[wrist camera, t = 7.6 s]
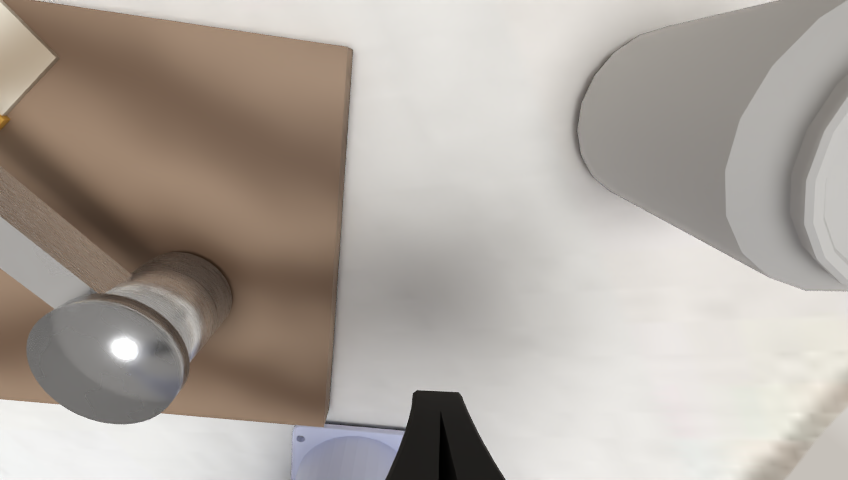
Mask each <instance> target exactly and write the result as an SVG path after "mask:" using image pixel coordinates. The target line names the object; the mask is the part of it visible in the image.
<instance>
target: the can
mask: <svg viewBox="0 0 848 480" xmlns="http://www.w3.org/2000/svg"><path fill="white" fill-rule="evenodd" d="M577 131H578V138H579V145H580V151H581V156H582V158H583V160H584V162H585V163H586V165H587V167H588V169H589V171H590V173H591V175H592V176H593V177H594V178H595V179H596V180H597V181H599V182H600V183H601V184H602V185H603V186H604V187H606V188H607V189H608V190H609V191H611V192H612V193H614V194H616V195H618V196H620V197H622V198H623V199H625V200H627V201H629V202H631V203H633V204H635V205H636V206H638V207H640V208H642V209H644V210H646V211H647V212H649V213H651V214H653V215H655V216H657V217H659V218H660V219H662V220H664V221H666V222H668V223H670V224H671V225H673V226H675V227H677V228H679V229H681V230H682V231H684V232H686V233H688V234H690V235H692V236H694V237H695V238H697V239H699V240H701V241H703V242H705V243H706V244H708V245H710V246H712V247H714V248H716V249H717V250H719V251H721V252H723V253H725V254H727V255H729V256H730V257H732V258H734V259H736V260H738V261H740V262H741V263H743V264H745V265H747V266H749V267H751V268H752V269H754V270H756V271H758V272H760V273H762V274H764V275H765V276H767V277H769V278H772V279H775V280H777V281H780V282H783V283H786V284H789V285H791V286H794V287H797V288H800V289H802V290H805V291H848V0H778V1H774V2H769V3H765V4H761V5H757V6H752V7H748V8H744V9H740V10H735V11H731V12H727V13H723V14H718V15H714V16H710V17H705V18H701V19H697V20H693V21H688V22H684V23H680V24H676V25H671V26H667V27H664V28H661V29H658V30H654V31H651V32H648V33H645V34H641V35H639V36H638V37H636V38H635V39H633V40H632V41H630V42H629V43H627V44H626V45H624V46H623V47H621V48H620V49H618V50H617V51H615V52H614V53H613V54H612V55H611V57H610V58H609V59H608V60H607V61H606V63H605V64H604V65H603V66H602V67H601V68H600V70H599V71H598V72H597V73H596V74H595V75H594V77H593V80H592V82H591V84H590V86H589V88H588V90H587V92H586V94H585V97H584V99H583V101H582V104H581V110H580V116H579V123H578V129H577Z"/></svg>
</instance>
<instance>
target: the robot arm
mask: <svg viewBox="0 0 848 480" xmlns="http://www.w3.org/2000/svg"><path fill="white" fill-rule="evenodd" d="M300 436H303V437H300ZM291 480H505V478H504V476H503V475H502V473H501V472H500V470H499V469H498V467H497V465H496V464H495V462H494V460H493V459H492V457H491V455H490V453H489V451H488V450H487V448H486V446H485V444H484V443H483V441H482V439H481V437H480V435H479V433H478V431H477V429H476V427H475V425H474V423H473V421H472V419H471V417H470V415H469V413H468V410H467V408H466V406H465V403H464V401H463V398H462V396H461V395H460V394H459V392H440V391H420V390H417V391H416V392H414V393H413V398H412V407H411V412H410V416H409V420H408V423H407V427H406V430H405V431H401V430H390V429H379V428H367V427H356V426H345V425H333V424H325V425H324V427H313V426H301V425H295V426H294V428H293V435H292V471H291Z"/></svg>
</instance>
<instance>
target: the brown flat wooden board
mask: <svg viewBox="0 0 848 480" xmlns="http://www.w3.org/2000/svg"><path fill="white" fill-rule="evenodd" d="M352 55H353V50H352V49H350V48H348V47H344V46H337V45H330V44H324V43H317V42H310V41H303V40H297V39H290V38H283V37H277V36H270V35H263V34H256V33H250V32H243V31H236V30H229V29H223V28H216V27H209V26H203V25H196V24H189V23H182V22H176V21H169V20H162V19H155V18H149V17H142V16H135V15H129V14H122V13H115V12H108V11H102V10H95V9H88V8H81V7H75V6H68V5H61V4H54V3H48V2H41V1H34V0H0V166H1V167H2V168H3V169H4V170H6V171H7V172H8V173H9V174H10V175H12V176H13V177H14V178H15V179H17V180H18V181H19V182H20V183H21V184H23V185H24V186H25V187H26V188H27V189H29V190H30V191H31V192H32V193H33V194H35V195H36V196H37V197H38V198H40V199H41V200H42V201H43V202H44V203H46V204H47V205H48V206H49V207H50V208H52V209H53V210H54V211H55V212H56V213H58V214H59V215H60V216H61V217H63V218H64V219H65V220H66V221H67V222H69V223H70V224H71V225H72V226H73V227H75V228H76V229H77V230H78V231H79V232H81V233H82V234H83V235H84V236H86V237H87V238H88V239H89V240H90V241H92V242H93V243H94V244H95V245H96V246H98V247H99V248H100V249H101V250H102V251H104V252H105V253H106V254H107V255H109V256H110V257H111V258H112V259H113V260H115V261H116V262H117V263H118V264H119V265H121V266H122V267H123V268H124V269H125V270H127V271H128V272H129V273H132V272H134V271H135V270H137V269H138V268H140V267H141V266H143V265H144V264H146V263H147V262H149V261H150V260H152V259H153V258H155V257H157V256H159V255H162V254H165V253H171V252H182V253H189V254H192V255H195V256H198V257H201V258H203V259H205V260H206V261H208V262H209V263H211V264H212V265H213V266H215V267H216V268H217V269H218V270H219V271H220V272H221V273H222V275H223V276H224V277H225V279H226V281H227V282H228V285H229V287H230V290H231V295H232V305H231V309H230V312H229V314H228V316H227V317H226V319H225V320H224V321H223V322H222V324H221V325H220V326H219V327H218V329H217V330H216V331H215V332H214V334H213V335H212V336H211V337H210V338H209V340H208V341H207V342H206V343H205V345H204V346H203V347H202V348H201V349H200V351H199V352H198V353H197V354H196V356H195V357H194V358H193V359H192V360H191V362H190V369H189V375H188V378H187V381H186V383H185V385H184V387H183V388H182V389H181V390H180V392H179V393H178V394H177V396H176V397H175V398H174V400H173V401H172V402H171V403H170V405H169V406H168V407H167V408H166V409H165V410H164V411H163V412H161V413H165V414H176V415H187V416H199V417H210V418H222V419H233V420H244V421H256V422H267V423H279V424H290V425H301V426H313V427H324V425H325V421H326V417H327V413H328V410H329V400H330V385H331V370H332V355H333V340H334V325H335V310H336V295H337V280H338V265H339V250H340V235H341V220H342V205H343V190H344V175H345V160H346V145H347V130H348V115H349V100H350V85H351V70H352ZM52 310H54V308H53V307H51V306H50V305H49V304H47V303H46V302H45V301H43V300H42V299H41V298H39V297H38V296H37V295H35V294H34V293H33V292H31V291H30V290H29V289H27V288H26V287H25V286H23V285H22V284H21V283H19V282H18V281H17V280H15V279H14V278H13V277H11V276H10V275H9V274H7V273H6V272H5V271H3V270H2V269H1V268H0V399H5V400H16V401H28V402H39V403H51V404H59V403H58V402H57V401H55V400H54V399H53V398H52V397H51V396H49V395H48V394H47V393H46V392H45V390H44V389H43V388H42V387H41V386H40V385H39V383H38V382H37V380H36V379H35V377H34V375H33V373H32V372H31V369H30V366H29V364H28V360H27V353H26V346H27V339H28V336H29V333H30V331H31V330H32V328H33V326H34V325H35V324H36V323H37V321H38V320H39V319H41V318H42V317H43V316H44V315H46V314H47V313H49V312H51V311H52Z"/></svg>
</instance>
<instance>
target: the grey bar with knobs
mask: <svg viewBox="0 0 848 480" xmlns="http://www.w3.org/2000/svg"><path fill="white" fill-rule="evenodd" d="M0 268H1V269H2V270H3V271H5V272H6V273H7V274H9V275H10V276H11V277H13V278H14V279H15V280H17V281H18V282H19V283H21V284H22V285H23V286H25V287H26V288H27V289H29V290H30V291H31V292H33V293H34V294H35V295H37V296H38V297H39V298H41V299H42V300H43V301H45V302H46V303H47V304H49V305H50V306H51V307H53V308H54V310H52V311H51V312H49V313H47V314H46V315H44V316H43V317H42V318H41V319H39V320H38V321H37V323H36V324H35V325H34V326H33V328H32V330H31V331H30V333H29V336H28V339H27V346H26V353H27V360H28V364H29V366H30V369H31V372H32V373H33V375H34V377H35V379H36V380H37V382H38V383H39V385H40V386H41V387H42V388H43V389H44V390H45V392H46V393H47V394H48V395H49V396H51V397H52V398H53V399H54V400H55V401H57V402H58V403H59V404H61V405H62V406H64V407H65V408H67V409H68V410H70V411H72V412H74V413H76V414H78V415H81V416H83V417H86V418H88V419H92V420H95V421H99V422H104V423H111V424H132V423H138V422H142V421H145V420H148V419H151V418H153V417H155V416H157V415H158V414H160V413H161V412H163V411H164V410H165V409H166V408H167V407H168V406H169V405H170V403H171V402H172V401H173V400H174V398H175V397H176V396H177V394H178V393H179V392H180V390H181V389H182V388H183V387H184V385H185V383H186V381H187V378H188V375H189V369H190V362H191V360H192V359H193V358H194V357H195V356H196V354H197V353H198V352H199V351H200V349H201V348H202V347H203V346H204V345H205V343H206V342H207V341H208V340H209V338H210V337H211V336H212V335H213V334H214V332H215V331H216V330H217V329H218V327H219V326H220V325H221V324H222V322H223V321H224V320H225V319H226V317H227V316H228V314H229V312H230V309H231V305H232V295H231V290H230V287H229V285H228V282H227V281H226V279H225V277H224V276H223V275H222V273H221V272H220V271H219V270H218V269H217V268H216V267H215V266H213V265H212V264H211V263H209V262H208V261H206V260H205V259H203V258H201V257H198V256H195V255H192V254H189V253H182V252H171V253H165V254H162V255H159V256H157V257H155V258H153V259H152V260H150V261H149V262H147V263H146V264H144V265H143V266H141V267H140V268H138V269H137V270H135V271H134V272H132V273H129V272H128V271H127V270H125V269H124V268H123V267H122V266H121V265H119V264H118V263H117V262H116V261H115V260H113V259H112V258H111V257H110V256H109V255H107V254H106V253H105V252H104V251H102V250H101V249H100V248H99V247H98V246H96V245H95V244H94V243H93V242H92V241H90V240H89V239H88V238H87V237H86V236H84V235H83V234H82V233H81V232H79V231H78V230H77V229H76V228H75V227H73V226H72V225H71V224H70V223H69V222H67V221H66V220H65V219H64V218H63V217H61V216H60V215H59V214H58V213H56V212H55V211H54V210H53V209H52V208H50V207H49V206H48V205H47V204H46V203H44V202H43V201H42V200H41V199H40V198H38V197H37V196H36V195H35V194H33V193H32V192H31V191H30V190H29V189H27V188H26V187H25V186H24V185H23V184H21V183H20V182H19V181H18V180H17V179H15V178H14V177H13V176H12V175H10V174H9V173H8V172H7V171H6V170H4V169H3V168H2V167H1V166H0Z"/></svg>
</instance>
